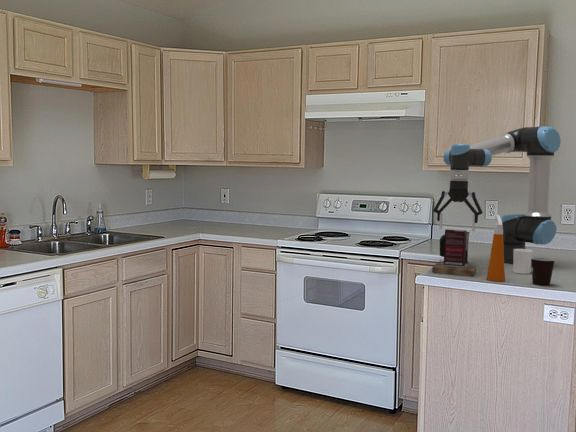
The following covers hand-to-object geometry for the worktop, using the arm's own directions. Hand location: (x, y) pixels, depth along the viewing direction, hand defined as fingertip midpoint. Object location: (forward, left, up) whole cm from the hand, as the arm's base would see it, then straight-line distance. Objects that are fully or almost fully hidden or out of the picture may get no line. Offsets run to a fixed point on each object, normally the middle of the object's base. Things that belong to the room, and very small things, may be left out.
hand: (456, 229), depth 257 cm
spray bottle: (-17, +7, -19) cm, 26 cm away
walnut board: (0, 0, -19) cm, 19 cm away
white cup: (-27, -15, -19) cm, 36 cm away
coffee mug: (-35, +7, -19) cm, 40 cm away
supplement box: (0, 0, -16) cm, 16 cm away
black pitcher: (+1, -25, -19) cm, 31 cm away
